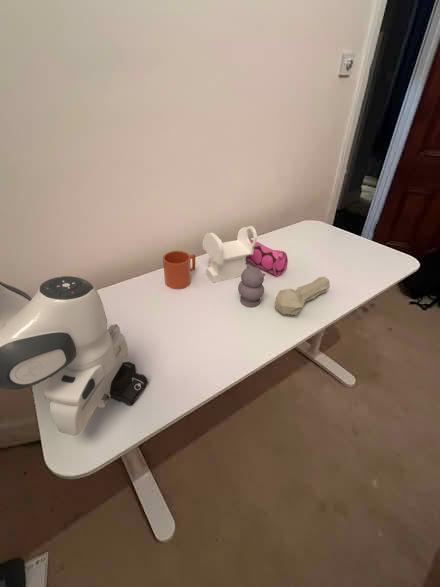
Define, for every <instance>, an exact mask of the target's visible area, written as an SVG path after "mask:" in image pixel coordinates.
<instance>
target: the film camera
mask: <svg viewBox="0 0 440 587" xmlns="http://www.w3.org/2000/svg"><path fill="white" fill-rule="evenodd" d="M148 382H149V381H148V378H147V376H146V375H145V374H142V373H138V372H137V367H136V363H133V362H132V361H124V362H123V363H122V365H121V367H120V368H119V370H118V372H117V373H116V375H115V377H114V379H113V380H112V382H111V387H110V392H109V393H110V398H109V399H111V400H115V401H116V402H118V403H123V404H125V405H128V406H131V407H132V405H133V406H134V403H135V401H136V400H137V398H138V397H139V396H140V394H141V393H142V391H143V390H144V389H145V388H146V387H147V384H148Z"/></svg>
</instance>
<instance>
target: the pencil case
mask: <svg viewBox="0 0 440 587" xmlns="http://www.w3.org/2000/svg"><path fill="white" fill-rule="evenodd" d="M248 238H249V241H250V243H251V244H252V243H253V241H254V239H251V238H250V236H249V235H248ZM288 258H289V257H288V255H287V253H286V252H285V251H283V250H278V249H272V248H270V247H268V246H265V245H264V244H263V243H261V242H259V241H257V243H256V245H255V246H254V252H253V254H251V255H246V261H248V262H250V263H251V264H253V265H255V266H256V267H258V268H260V270H263V271H265V272H267V273H270V274H272V275H274V276H276V277H279V276H281V275H282V274H283V273H284V272H285V271H286V270H287V268H288V265H289V264H288V263H289V259H288Z"/></svg>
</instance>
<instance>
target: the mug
mask: <svg viewBox="0 0 440 587" xmlns="http://www.w3.org/2000/svg"><path fill="white" fill-rule="evenodd" d="M162 265H163V277H164V278H163V279H164V284H165V286H166V287H167V288H169V289H172V290H182V289H186V288H188V287H189V286H190V285H191V283H192V272H194V271H195V270H196V254H195V253H192V254H190V253H188V252H186V251H183V250H172V251H168V252H166V253H165V254H163V256H162Z"/></svg>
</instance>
